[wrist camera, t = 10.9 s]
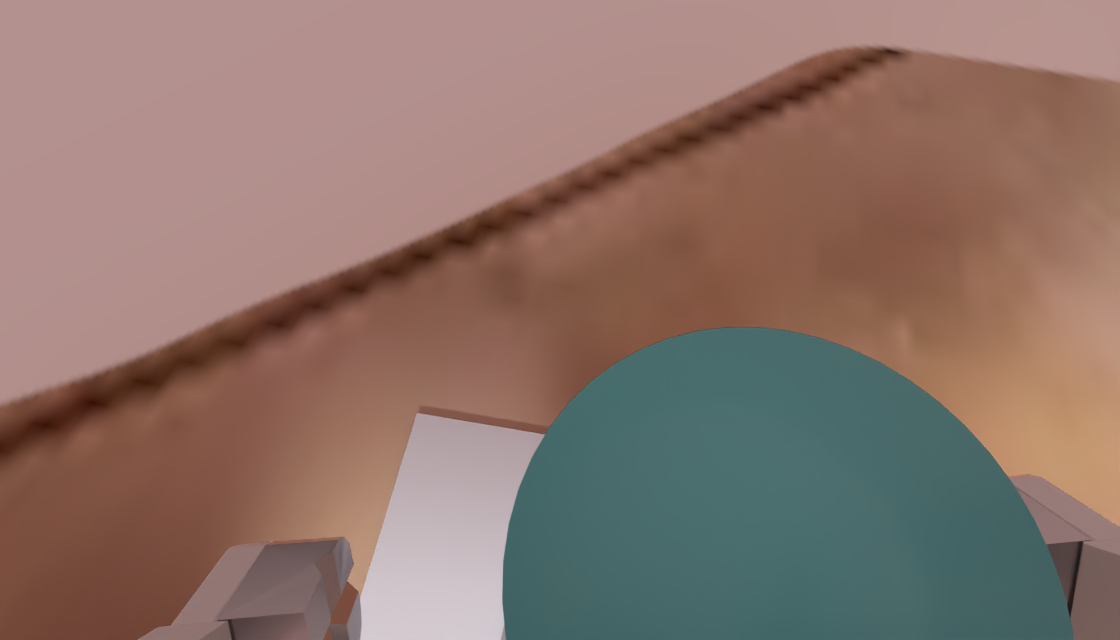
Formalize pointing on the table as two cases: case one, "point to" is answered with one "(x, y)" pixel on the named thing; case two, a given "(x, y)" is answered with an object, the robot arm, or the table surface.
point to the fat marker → (770, 507)
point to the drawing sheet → (446, 533)
